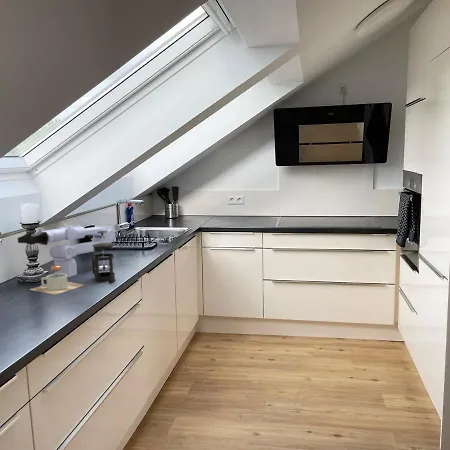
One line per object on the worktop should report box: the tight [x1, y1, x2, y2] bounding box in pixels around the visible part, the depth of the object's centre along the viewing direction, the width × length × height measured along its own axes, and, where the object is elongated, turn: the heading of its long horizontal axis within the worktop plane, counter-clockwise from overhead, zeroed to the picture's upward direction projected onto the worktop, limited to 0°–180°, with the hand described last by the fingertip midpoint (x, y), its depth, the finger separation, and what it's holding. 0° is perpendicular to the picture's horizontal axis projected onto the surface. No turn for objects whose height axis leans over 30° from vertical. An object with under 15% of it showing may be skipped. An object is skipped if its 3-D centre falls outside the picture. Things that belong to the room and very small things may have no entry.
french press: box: [91, 231, 116, 284], centre depth 211 cm, size 12×9×23 cm
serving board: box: [29, 281, 85, 296], centre depth 200 cm, size 16×16×1 cm
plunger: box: [50, 265, 63, 278], centre depth 199 cm, size 6×6×6 cm
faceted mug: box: [40, 273, 68, 290], centre depth 200 cm, size 11×9×5 cm
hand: (24, 240), depth 199 cm, fingers open, 7 cm apart
